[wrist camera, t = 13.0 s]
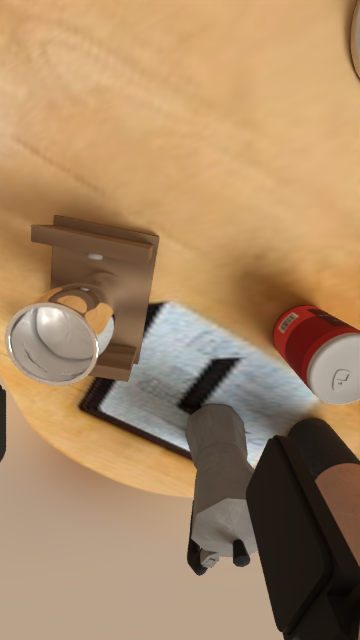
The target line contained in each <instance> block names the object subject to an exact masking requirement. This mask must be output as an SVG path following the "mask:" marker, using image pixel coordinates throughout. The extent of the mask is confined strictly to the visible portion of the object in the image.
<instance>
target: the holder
mask: <svg viewBox="0 0 360 640" xmlns="http://www.w3.org/2000/svg"><path fill="white" fill-rule="evenodd" d="M31 241H32V242H37V243H42V244H47V245H52V246H53V247H52V269H51V290H52V289H54V288H57V287H59V286H62V285H66V284H71V283H79V282H82V281H83V279H84V278H85V277H87V276H88V275H90V274H92V273H95V272H107V273H111V274H113V275H115V276H116V277H118V278H119V279H120V280H121V281H122V282H123V284H124V285H125V287H126V290H127V294H128V302H127V305H126V308H125V309H124V311H123V312H122V313H121V314H120V315H119V316H118V317H117V325H116V330H115V333H114V336H113V338H112V341H111V343H110V345H109V347H108V348H107V350H106V351H105V353H104V354H103V356H102V357H101V358H100V360H99V361H98V362H97V363H96V365H95V366H94V368H93V370H92V371H91V372H90V373H89V374H88V375H89V376H96V377H102V378H108V379H114V380H121V381H127V382H128V380H129V376H130V373H131V369H132V366H133V364H138V361H139V355H140V349H141V343H142V337H143V331H144V326H145V320H146V314H147V308H148V302H149V296H150V290H151V284H152V278H153V272H154V266H155V261H156V255H157V249H158V243H159V237H158V236H153V235H149V234H144V233H139V232H134V231H130V230H125V229H120V228H115V227H111V226H106V225H101V224H96V223H91V222H87V221H82V220H77V219H72V218H68V217H63V216H58V215H54V225H32V228H31Z"/></svg>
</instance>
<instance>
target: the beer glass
mask: <svg viewBox="0 0 360 640" xmlns="http://www.w3.org/2000/svg"><path fill="white" fill-rule="evenodd" d="M127 302H128V294H127V290H126V287H125V285H124V284H123V282H122V281H121V280H120V279H119V278H118V277H116V276H115V275H113V274H111V273H107V272H95V273H92V274H90V275H88V276H87V277H85V278H84V279H83V281H82V282H79V283H71V284H66V285H62V286H59V287H57V288H54V289H52V290H50V291H48V292H46V293H44V294H43V295H41V296H39V297H38V298H36V299H35V300H34V301H32V302H31V303H30V304H28V305H27V306H26V307H24V308H22V309H20V310H19V311H18V312H17V313H15V314H14V316H13V317H12V318H11V319H10V321H9V323H8V325H7V328H6V332H5V345H6V349H7V352H8V355H9V357H10V359H11V360H12V362H13V363H14V365H15V366H16V367H17V368H18V369H19V370H20V371H21V372H22V373H23V374H25V375H26V376H28V377H29V378H31V379H33V380H35V381H37V382H39V383H42V384H46V385H52V386H65V385H70V384H73V383H76V382H78V381H80V380H82V379H83V378H85V377H86V376H87V375H88V374H89V373H90V372H91V371H92V370H93V368H94V366H95V365H96V363H97V362H98V361H99V360H100V358H101V357H102V356H103V354H104V353H105V351H106V350H107V348H108V347H109V345H110V343H111V341H112V338H113V336H114V333H115V330H116V325H117V317H118V316H119V315H120V314H121V313H122V312H123V311H124V309H125V308H126V305H127Z"/></svg>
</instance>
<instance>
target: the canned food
mask: <svg viewBox="0 0 360 640" xmlns="http://www.w3.org/2000/svg"><path fill="white" fill-rule="evenodd" d="M273 339H274V345H275V347H276V349H277V351H278V352H279V353H280V354H281V356H282V357H283V358H284V359H285V360H286V362H287V363H288V364H289V365H290V366H291V368H292V369H293V370H294V371H295V372H296V374H297V375H298V376H299V377H300V378H301V380H302V381H303V382H304V383H305V384H306V386H307V387H308V388H309V389H310V390H311V391H312V392H313V394H315V395H316V396H317V397H318V398H319V399H321V400H322V401H324V402H326V403H329V404H334V405H343V404H349V403H352V402H355V401H357V400H360V331H359V330H358V329H356V328H354V327H352V326H350V325H348V324H347V323H345V322H343V321H341V320H339V319H337V318H335V317H334V316H332V315H330V314H328V313H326V312H324V311H323V310H321V309H319V308H317V307H314V306H307V305H305V306H297V307H294V308H291V309H290V310H288V311H286V312H285V313H284V314H283V315H282V316H281V317H280V318H279V319H278V321H277V322H276V325H275V327H274V331H273Z"/></svg>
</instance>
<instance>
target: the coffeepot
mask: <svg viewBox="0 0 360 640" xmlns="http://www.w3.org/2000/svg"><path fill="white" fill-rule="evenodd" d="M186 438H187V442H188V445H189V449H190V452H191V456H192V459H193V462H194V466H195V467H196V469H197V474H196V479H195V491H194V500H193V506H192V515H191V524H190V536H189V544H188V552H187V561H188V564H189V565H190V567H191V568H192V569H193V570H194V572H195V573H196V574H197V575H199V576H200V575H202V574H204V573H205V572H206V570H207V569H208V568H209V567H211V568H212V567H213V566H214V565H215V564H216V562H218V561H219V556H223V557H233V563H234V564H235V565H236V566H239V567H244V566H246V565H248V564H249V562H250V557H249V555H250V554H251V553H254V552H256V551H258V548H257V544H256V540H255V535H254V531H253V527H252V523H251V519H250V514H249V510H248V506H247V502H246V489H247V486H248V484H249V482H250V480H251V477H252V475H253V473H254V469H253V468H252V466H251V465H250V464H249V463H248V461H247V455H248V454H247V446H246V437H245V429H244V422H243V421H242V420H241V418H240V417H239V415H238V414H237V413H236V412H235V411H234V410H233V409H232V407H229V406H224V405H219V404H213V405H206V406H204V407H202V408H200V409H198V410H197V411H195V412H194V413H193V414H192V415H191V416H189V419H188V423H187V430H186ZM200 547H201V549H200Z"/></svg>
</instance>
